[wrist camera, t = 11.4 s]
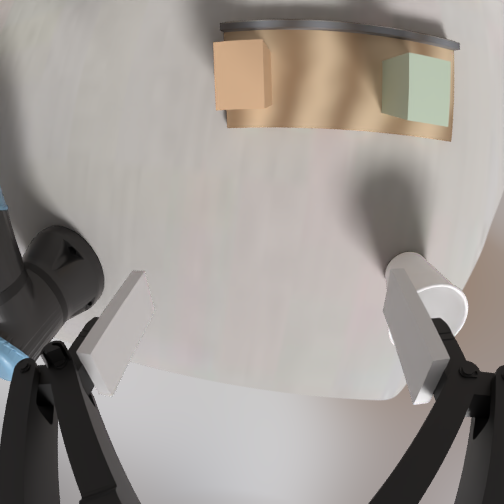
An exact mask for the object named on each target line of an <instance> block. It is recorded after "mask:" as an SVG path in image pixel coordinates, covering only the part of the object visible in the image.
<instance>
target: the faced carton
mask: <svg viewBox="0 0 504 504" xmlns="http://www.w3.org/2000/svg"><path fill="white" fill-rule="evenodd" d="M213 49H214V75H215V98H216V110H234V109H265V108H267V107H269V106H271V105H272V74H271V52H270V50H269V49H268V47H267V45H266V44H265V42H264V41H263V39H254V40H236V41H223V42H213Z"/></svg>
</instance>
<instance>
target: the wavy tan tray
mask: <svg viewBox="0 0 504 504" xmlns="http://www.w3.org/2000/svg"><path fill="white" fill-rule="evenodd" d="M220 30H221V31H222V32H224V41H236V40H254V39H263V41H264V42H265V44H266V45H267V47H268V49H269V50H270V52H271V74H272V105H271V106H269V107H267V108H265V109H234V110H227V128H248V127H293V128H324V129H342V130H357V131H369V132H380V133H390V134H399V135H408V136H416V137H423V138H430V139H437V140H444V141H450V142H451V137H452V124H453V106H454V50H460V43H457V42H455V41H452V40H448V39H444V38H440V37H436V36H432V35H427V34H423V33H418V32H413V31H408V30H402V29H397V28H391V27H384V26H377V25H369V24H361V23H352V22H340V21H326V20H300V19H274V20H248V21H233V22H225V23H220ZM406 53H414V54H419V55H424V56H429V57H433V58H438V59H442V60H446V61H450V62H451V80H450V108H449V123H448V127H445V126H440V125H434V124H428V123H422V122H415V121H409V120H405V119H401V118H398V117H394V116H391V115H387V114H384V113H381V112H382V61H384V60H387V59H390V58H393V57H396V56H399V55H402V54H406Z"/></svg>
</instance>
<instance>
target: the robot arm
mask: <svg viewBox="0 0 504 504" xmlns="http://www.w3.org/2000/svg"><path fill="white" fill-rule="evenodd" d="M103 289H104V275H103V270H102V267H101V264H100V262H99V260H98V258H97V256H96V254H95V253H94V251H93V250H92V248H91V247H90V246H89V245H88V243H87V242H86V241H85V240H84V239H83V238H81V237H80V236H79V235H78V234H76V233H75V232H73V231H71V230H69V229H67V228H64V227H60V226H52V227H48V228H46V229H45V230H43V231H42V232H40V233H39V234H38V235H37V236H35V238H34V239H33V240H32V242H31V244H30V245H29V247H28V249H27V250H26V252H25V254H24V255H23V257H21V254H20V251H19V248H18V245H17V242H16V239H15V235H14V232H13V229H12V225H11V221H10V217H9V214H8V206H7V205H6V203H5V200H4V197H3V193H2V190H1V186H0V378H2V379H4V380H7V381H11V384H10V389H9V393H8V399H7V404H6V410H5V415H4V422H3V428H2V436H1V444H0V504H60V496H59V481H58V445H57V444H58V421H59V425H60V429H61V433H62V437H63V440H64V444H65V447H66V451H67V454H68V458H69V461H70V464H71V467H72V470H73V473H74V476H75V479H76V482H77V485H78V487H79V490H80V493H81V496H82V499H81V500H80V501H79V504H141V503H140V501H139V499H138V497H137V495H136V494H135V492H134V490H133V488H132V486H131V484H130V482H129V480H128V478H127V476H126V474H125V472H124V469H123V467H122V465H121V463H120V461H119V459H118V456H117V454H116V452H115V450H114V447H113V445H112V443H111V440H110V438H109V436H108V433H107V430H106V428H105V425H104V423H103V420H102V418H101V415H100V412H99V410H98V407H97V404H96V401H95V399H94V396H93V394H92V393H91V391H92V389H93V387H94V386H95V388H96V390H97V391H98V393H99V394H101V395H106V396H111V397H112V396H113V394H114V393H115V391H116V388H117V386H118V384H119V382H120V380H121V378H122V375H123V374H124V372H125V370H126V368H127V366H128V364H129V362H130V360H131V358H132V356H133V354H134V352H135V350H136V348H137V346H138V344H139V342H140V340H141V338H142V336H143V334H144V332H145V330H146V328H147V326H148V324H149V322H150V320H151V318H152V316H153V315H154V313H155V307H154V304H153V300H152V296H151V293H150V289H149V285H148V281H147V277H146V273H145V271H132V272H131V274H130V275H129V277H128V278H127V279H126V281H125V282H124V283H123V285H122V286H121V287H120V289H119V290H118V292H117V293H116V294H115V296H114V297H113V299H112V300H111V301H110V303H109V304H108V306H107V307H106V308H105V310H104V311H103V313H102V314H101V316H100V317H94V318H93V319H91V320H90V321H89V322H88V323H87V324H86V325H85V327H84V328H83V329H82V331H81V332H80V334H79V335H78V337H77V338H76V339H75V341H74V342H73V344H72V346H71V347H70V348H69V350H67V348H66V346H65V344H64V342H62V341H53V342H50V341H51V340H52V339H53V337H54V336H55V335H56V334H57V332H58V331H59V330H60V328H61V327H62V326H63V325H64V323H65V322H66V321H67V320H69V319H71V318H73V317H74V316H76V315H78V314H80V313H82V312H84V311H86V310H88V309H89V308H91V307H92V306H93V305H94V304H95V303H96V301H97V300H98V299H99V298H100V296H101V295H102V292H103ZM383 313H384V315H385V318H386V321H387V324H388V327H389V329H390V332H391V335H392V338H393V341H394V344H395V347H396V350H397V353H398V356H399V359H400V362H401V365H402V369H403V372H404V375H405V378H406V382H407V385H408V388H409V392H410V395H411V399H412V402H413V405H415V404H422V403H429V401H430V399H431V398H432V396H433V394H434V397H435V400H436V402H435V404H434V406H433V408H432V409H431V411H430V413H429V415H428V416H427V418H426V420H425V422H424V423H423V425H422V427H421V429H420V430H419V432H418V434H417V435H416V437H415V438H414V440H413V442H412V443H411V445H410V446H409V448H408V449H407V451H406V453H405V454H404V456H403V457H402V459H401V460H400V462H399V463H398V464H397V466H396V467H395V469H394V470H393V472H392V473H391V474H390V476H389V477H388V479H387V480H386V482H385V483H384V484H383V486H382V487H381V488H380V489H379V491H378V492H377V493H376V495H375V496H374V497H373V498H372V500H371V501H370V502H369V504H418V503H419V501H420V500H421V498H422V497H423V495H424V493H425V492H426V490H427V488H428V487H429V485H430V484H431V482H432V480H433V478H434V477H435V475H436V473H437V471H438V470H439V468H440V466H441V464H442V462H443V460H444V458H445V457H446V455H447V453H448V451H449V449H450V447H451V445H452V443H453V441H454V439H455V437H456V435H457V433H458V430H459V428H460V426H461V424H462V422H463V419H464V417H472V419H471V426H470V433H469V439H468V445H467V451H466V456H465V461H464V467H463V471H462V475H461V480H460V484H459V488H458V492H457V496H456V499H455V503H454V504H504V365H503V366H500V367H499V368H498V369H497V370H496V372H495V373H487V372H481V371H480V370H479V368H478V367H477V366H476V365H475V364H473V363H472V362H469V361H466V359H465V357H464V355H463V353H462V351H461V349H460V347H459V345H458V343H457V341H456V340H455V337H454V335H453V333H452V331H451V330H450V328H449V326H448V324H447V323H446V322H445V321H443V320H442V319H441V318H430V316H429V314H428V312H427V310H426V308H425V306H424V304H423V302H422V300H421V298H420V297H419V295H418V293H417V291H416V289H415V287H414V285H413V284H412V282H411V280H410V278H409V276H408V275H407V273H406V271H405V269H404V268H397V269H390V276H389V281H388V287H387V292H386V298H385V303H384V308H383ZM40 355H41V357H42V359H43V361H44V362H45V364H46V365H38V366H37V364H36V360H37V359H38V357H39V356H40Z"/></svg>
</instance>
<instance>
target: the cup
mask: <svg viewBox="0 0 504 504" xmlns="http://www.w3.org/2000/svg"><path fill="white" fill-rule="evenodd" d="M397 268H404V269H405V271H406V273H407V275H408V276H409V278H410V280H411V282H412V284H413V285H414V287H415V289H416V291H417V293H418V295H419V297H420V298H421V300H422V302H423V304H424V306H425V308H426V310H427V312H428V314H429V316H430V318H441V319H442V320H443V321H445V322H446V323H447V324H448V326H449V328H450V330H451V331H452V333H453V335H454V336H455V335H456V334H457V333H458V332H459V331H460V329H461V328H462V326H463V324H464V322H465V320H466V317H467V314H468V302H467V298H466V296H465V294H464V293H463V291H462V290H461V289H460V288H458V287H457V286H455V285H453V284H452V283H451V282H450V281H449V280H448V279H447V278H445V277H444V276H443V275H442V274H441V273H440V272H439V271H438V270H437V269H436V268H434V267H433V266H432V265H431V264H430V263H429V262H428V261H427V260H426V259H425V258H424V257H422V256H421V255H420V254H418V253H415V252H405V253H401V254H399V255H397V256H396V257H394V258H393V259H392V260H391V261H390V263H389V264H388V266H387V268H386V272H385V279H386V289H387V287H388V281H389V276H390V269H397ZM388 335H389V338H390V340H391V342H392V343H393V345H394V346H395V344H394V341H393V338H392V335H391V332H390V329H389V327H388Z"/></svg>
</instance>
